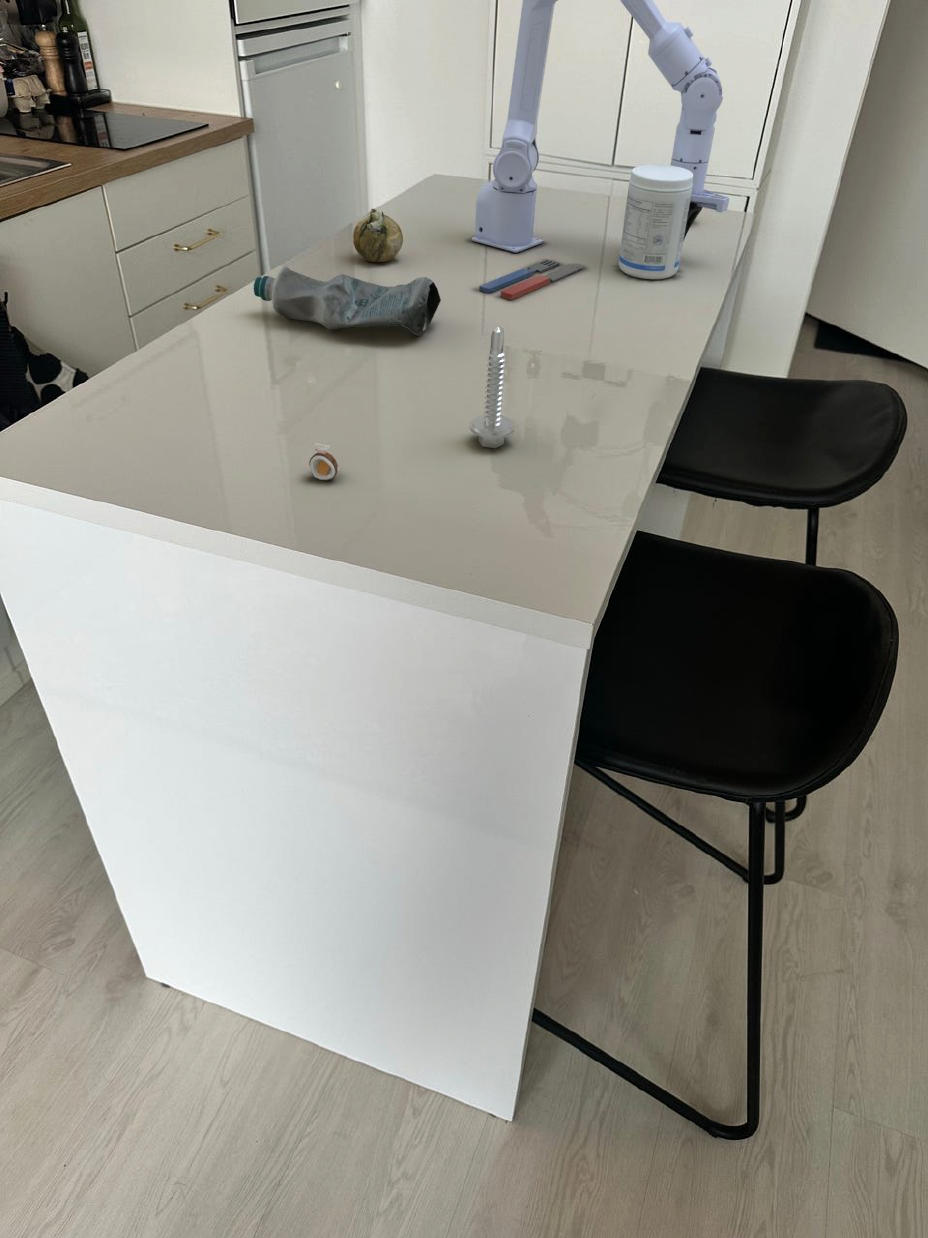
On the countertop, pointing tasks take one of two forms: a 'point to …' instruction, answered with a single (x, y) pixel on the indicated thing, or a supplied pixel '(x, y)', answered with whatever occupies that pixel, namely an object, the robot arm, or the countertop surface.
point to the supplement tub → (655, 220)
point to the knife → (538, 282)
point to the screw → (493, 398)
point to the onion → (377, 237)
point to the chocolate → (323, 464)
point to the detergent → (350, 301)
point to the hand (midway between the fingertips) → (674, 249)
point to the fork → (517, 276)
